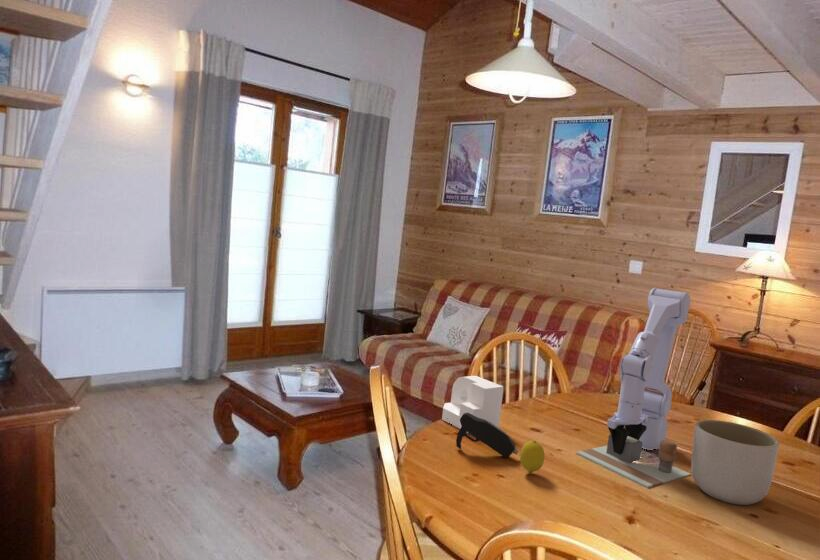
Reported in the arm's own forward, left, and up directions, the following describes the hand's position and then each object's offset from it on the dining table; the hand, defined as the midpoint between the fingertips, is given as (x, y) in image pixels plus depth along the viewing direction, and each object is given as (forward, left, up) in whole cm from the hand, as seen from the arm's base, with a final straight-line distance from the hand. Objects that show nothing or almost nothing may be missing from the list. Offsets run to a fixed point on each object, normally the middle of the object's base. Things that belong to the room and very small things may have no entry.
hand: (623, 451), depth 153 cm
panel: (+1, +4, -2) cm, 4 cm away
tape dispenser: (+23, -36, -2) cm, 43 cm away
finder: (0, 0, -1) cm, 1 cm away
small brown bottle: (-3, +10, -1) cm, 11 cm away
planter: (-6, +24, -2) cm, 25 cm away
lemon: (+31, -3, -2) cm, 31 cm away
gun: (+35, -18, -4) cm, 40 cm away
